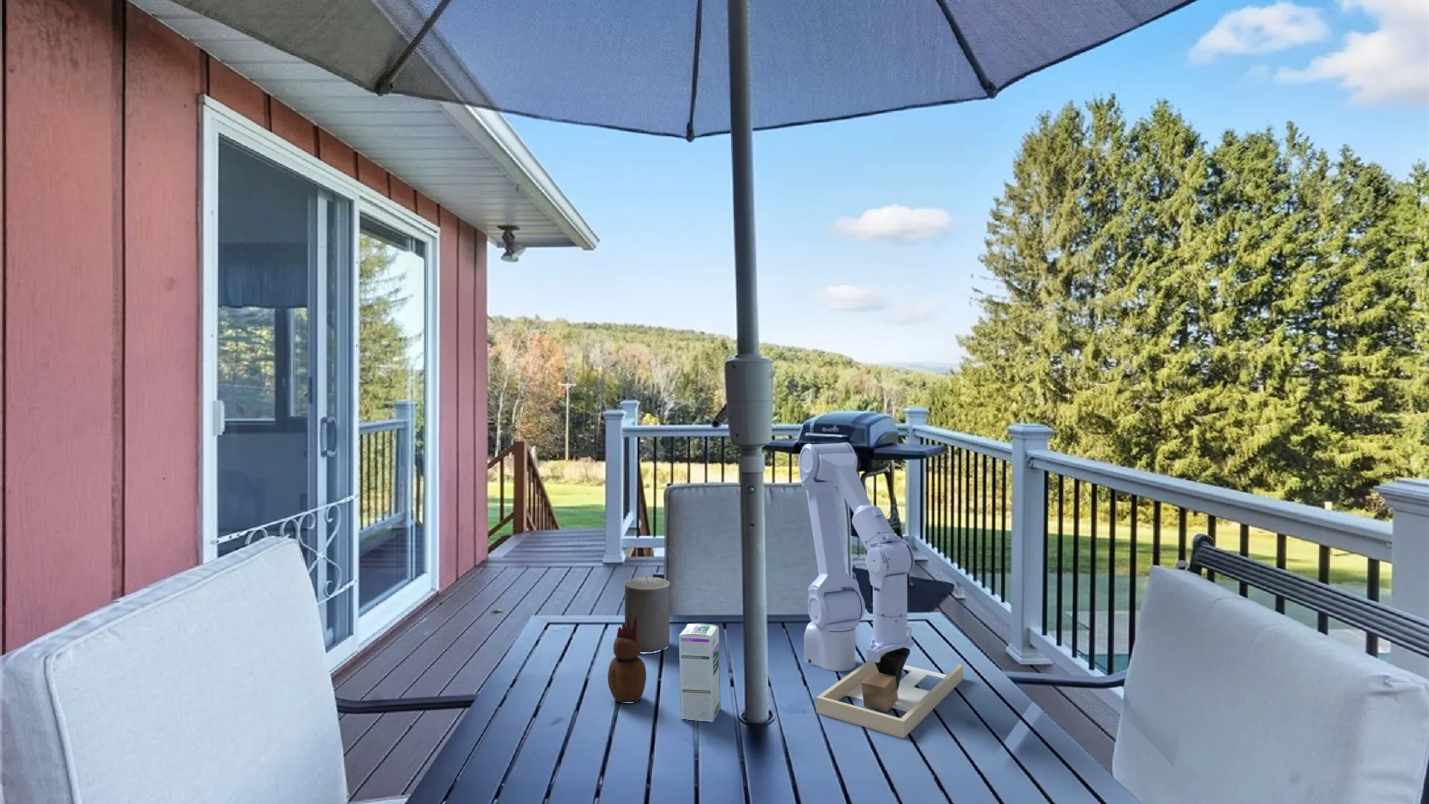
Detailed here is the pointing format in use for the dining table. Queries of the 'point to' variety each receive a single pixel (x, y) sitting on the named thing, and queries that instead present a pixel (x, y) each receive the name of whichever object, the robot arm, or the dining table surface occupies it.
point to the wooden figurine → (627, 665)
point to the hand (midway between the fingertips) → (890, 691)
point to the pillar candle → (649, 611)
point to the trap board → (908, 700)
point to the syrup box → (699, 671)
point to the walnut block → (879, 691)
